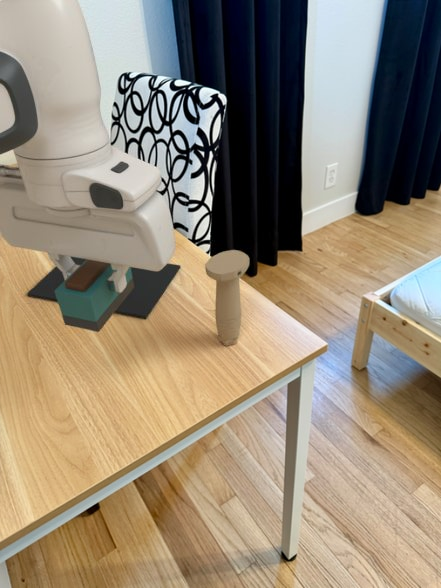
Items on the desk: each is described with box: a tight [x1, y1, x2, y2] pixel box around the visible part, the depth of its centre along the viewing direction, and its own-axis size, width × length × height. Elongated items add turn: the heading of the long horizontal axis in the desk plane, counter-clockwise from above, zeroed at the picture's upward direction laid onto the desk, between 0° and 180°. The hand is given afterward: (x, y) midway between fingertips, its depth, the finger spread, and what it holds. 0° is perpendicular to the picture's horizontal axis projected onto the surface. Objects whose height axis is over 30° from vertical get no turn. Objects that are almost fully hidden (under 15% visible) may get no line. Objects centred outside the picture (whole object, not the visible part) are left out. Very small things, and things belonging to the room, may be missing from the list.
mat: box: [26, 257, 181, 320], centre depth 82 cm, size 24×16×1 cm, turn 73°
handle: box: [204, 249, 250, 347], centre depth 64 cm, size 5×6×15 cm
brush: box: [54, 259, 134, 333], centre depth 51 cm, size 4×9×6 cm, turn 162°
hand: (96, 284), depth 51 cm, fingers closed on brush, 4 cm apart
